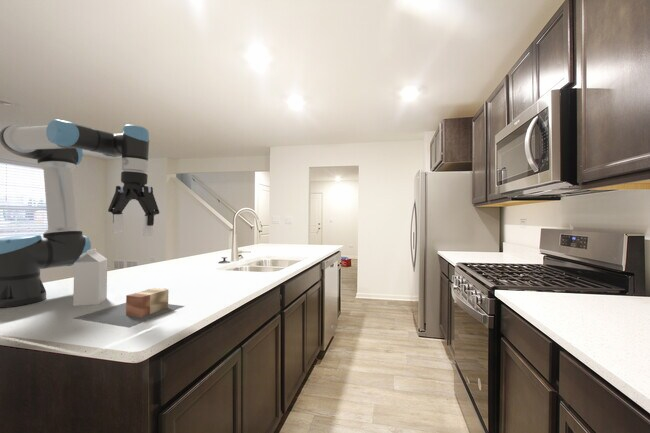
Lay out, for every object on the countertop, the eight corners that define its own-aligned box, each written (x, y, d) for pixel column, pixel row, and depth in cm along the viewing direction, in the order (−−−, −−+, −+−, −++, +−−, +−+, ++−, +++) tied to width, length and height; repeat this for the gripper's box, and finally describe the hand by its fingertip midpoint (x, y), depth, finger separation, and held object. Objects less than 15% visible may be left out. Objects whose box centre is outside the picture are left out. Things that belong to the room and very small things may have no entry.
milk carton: (106, 300, 105) (107, 248, 105) (98, 305, 99) (99, 250, 99) (83, 301, 103) (84, 248, 103) (72, 307, 96) (74, 250, 96)
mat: (72, 320, 85) (72, 318, 85) (135, 301, 104) (135, 299, 104) (129, 329, 78) (129, 327, 78) (184, 307, 98) (184, 306, 98)
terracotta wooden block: (154, 305, 98) (154, 287, 98) (168, 307, 96) (168, 289, 96) (125, 315, 88) (126, 295, 88) (141, 317, 86) (141, 297, 86)
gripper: (96, 170, 98) (94, 232, 99) (153, 170, 91) (151, 237, 91) (118, 173, 106) (116, 231, 106) (172, 173, 98) (170, 235, 98)
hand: (132, 234), depth 98 cm, fingers open, 13 cm apart
